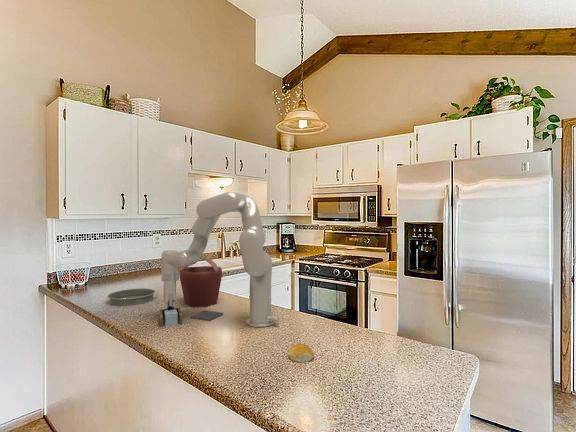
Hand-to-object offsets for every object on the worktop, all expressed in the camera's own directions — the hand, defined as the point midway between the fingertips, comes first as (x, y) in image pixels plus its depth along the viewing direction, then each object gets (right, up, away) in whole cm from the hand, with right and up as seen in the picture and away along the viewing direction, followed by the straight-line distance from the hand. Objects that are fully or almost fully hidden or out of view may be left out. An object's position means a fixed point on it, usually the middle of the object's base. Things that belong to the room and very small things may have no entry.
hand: (170, 316), depth 152 cm
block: (+2, -1, -6) cm, 6 cm away
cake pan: (-33, -2, +33) cm, 47 cm away
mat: (+16, -1, +3) cm, 17 cm away
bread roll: (+59, -1, -42) cm, 72 cm away
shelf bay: (+1, -1, -3) cm, 4 cm away
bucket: (+8, -1, +27) cm, 29 cm away
